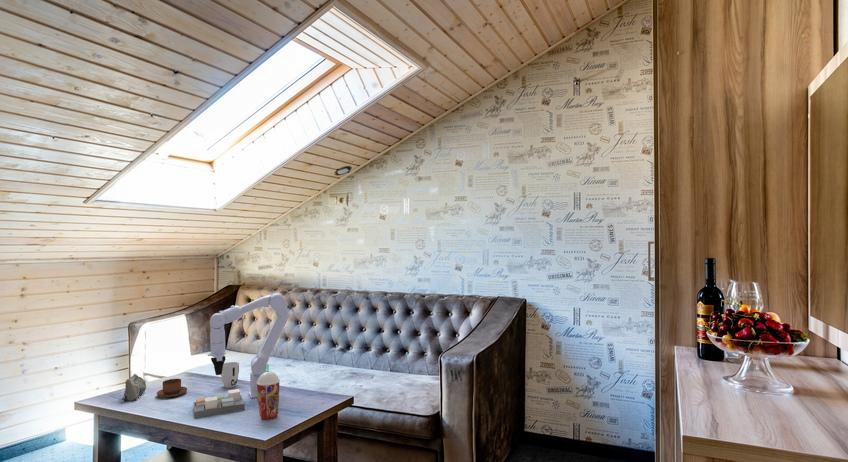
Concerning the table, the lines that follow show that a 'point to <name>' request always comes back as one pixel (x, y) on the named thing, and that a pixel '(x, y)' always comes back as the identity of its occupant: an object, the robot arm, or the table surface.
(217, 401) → the sage key
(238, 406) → the keypad board
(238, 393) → the cream key
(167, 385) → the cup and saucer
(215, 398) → the cream key
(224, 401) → the blue key
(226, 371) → the cup
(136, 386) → the mineral rock
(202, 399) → the terracotta key
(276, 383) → the smoothie
